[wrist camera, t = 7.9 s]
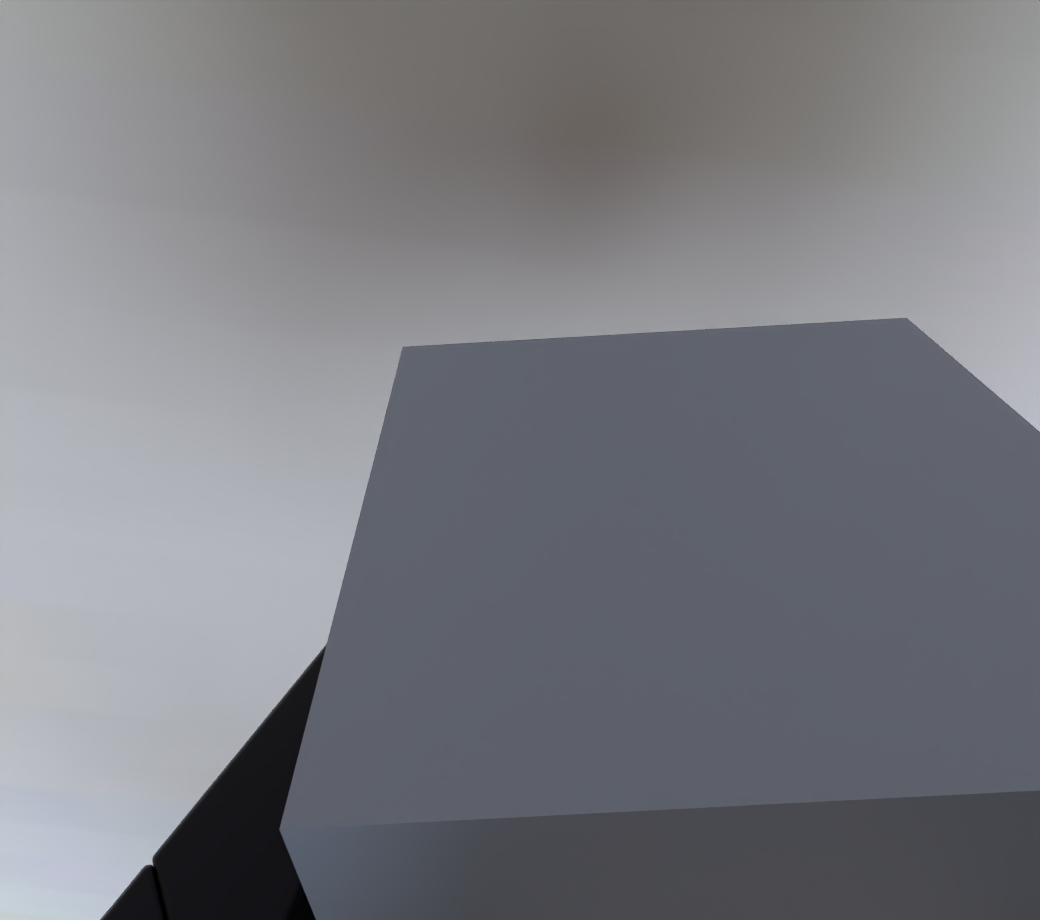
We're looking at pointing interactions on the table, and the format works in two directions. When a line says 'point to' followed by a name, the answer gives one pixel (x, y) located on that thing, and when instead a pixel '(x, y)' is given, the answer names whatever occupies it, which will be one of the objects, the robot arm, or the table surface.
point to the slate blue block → (684, 638)
